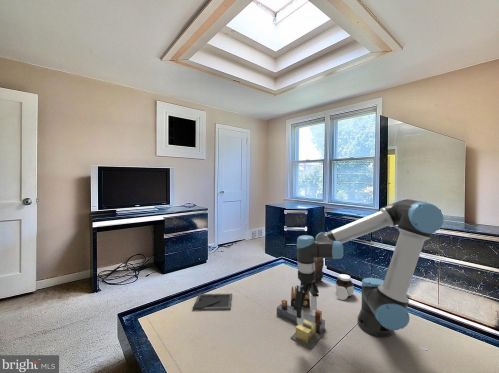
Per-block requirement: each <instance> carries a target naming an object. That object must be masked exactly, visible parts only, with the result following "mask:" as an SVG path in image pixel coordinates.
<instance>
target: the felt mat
mask: <svg viewBox="0 0 499 373" xmlns="http://www.w3.org/2000/svg"><path fill="white" fill-rule="evenodd" d="M321 338H322V335H321V334H320V335H319V334H317V333H316V335H315V336H314V338H313V339H312V340H311V341H310V343H309V344H306V343H304V342H302V341H300V340H298V339H296V331H295V332H294V333H293V334H292V335H291V336H290V340H292V341H294V342H296V343H298V344H300V345H302V346H304V347H305V348H308V350H309V349H310V350H312V349H313V348H314V347H315V345H316V344H317V343H318V341H319V340H320V339H321Z"/></svg>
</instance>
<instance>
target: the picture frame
mask: <svg viewBox="0 0 499 373" xmlns="http://www.w3.org/2000/svg"><path fill="white" fill-rule="evenodd" d="M232 300H233V293H198V294H197V297H196V299H195V302H194V304H193V306H192V311H193V310H199V311H231V309H232V303H231V302H232Z"/></svg>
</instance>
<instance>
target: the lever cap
mask: <svg viewBox="0 0 499 373" xmlns="http://www.w3.org/2000/svg"><path fill="white" fill-rule="evenodd" d="M295 332H296V339H298V340H300V341H302V342H304V343H306V344H309V343H310V341H311V340H312V339H313V338H314V336H315V335H316V334H317V333H316V324H314V323H312V322H310V321H307V320H305V319H304V320H303V326H302V325H298V324H297V325H296V326H295Z"/></svg>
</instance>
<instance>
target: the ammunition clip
mask: <svg viewBox="0 0 499 373" xmlns="http://www.w3.org/2000/svg"><path fill="white" fill-rule="evenodd" d="M296 292H297V285H296V286H295V287H294V285H293V286H292V287H291V292H290V306H292V307H294V302H295V297H296ZM302 309H311V293H310V291H308V294H307V295H306V297H305V300H304V304H303V308H302Z"/></svg>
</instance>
